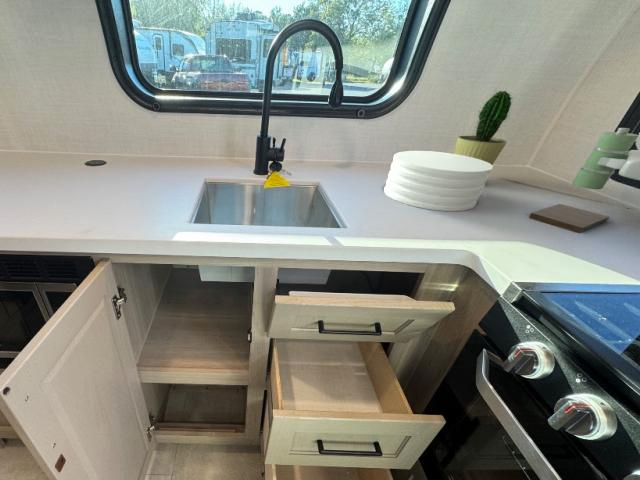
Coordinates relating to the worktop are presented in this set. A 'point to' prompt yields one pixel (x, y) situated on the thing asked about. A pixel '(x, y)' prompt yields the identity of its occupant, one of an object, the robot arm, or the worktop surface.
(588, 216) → the walnut board
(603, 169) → the green ridged cylinder
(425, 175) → the plate stack
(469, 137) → the potted cactus
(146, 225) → the worktop surface
